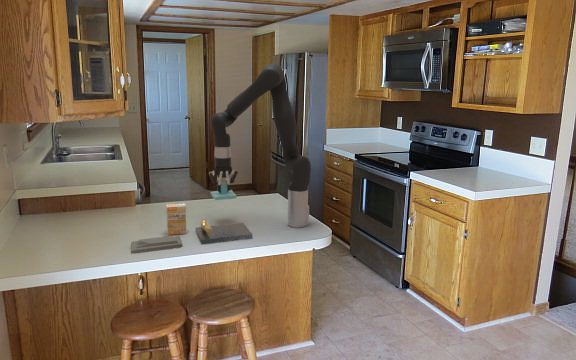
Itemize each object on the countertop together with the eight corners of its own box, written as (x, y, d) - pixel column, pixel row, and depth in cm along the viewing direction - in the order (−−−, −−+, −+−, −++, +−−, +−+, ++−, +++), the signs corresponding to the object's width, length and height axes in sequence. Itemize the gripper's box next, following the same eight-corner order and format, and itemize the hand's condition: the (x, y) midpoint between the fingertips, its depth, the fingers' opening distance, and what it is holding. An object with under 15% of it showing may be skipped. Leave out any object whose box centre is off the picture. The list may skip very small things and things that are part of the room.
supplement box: (167, 235, 205) (166, 207, 202) (167, 232, 209) (165, 203, 206) (186, 234, 207) (185, 205, 204) (186, 230, 212) (185, 202, 208)
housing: (243, 226, 217) (243, 222, 217) (252, 238, 203) (252, 234, 202) (195, 231, 210) (195, 227, 210) (201, 244, 195) (201, 239, 195)
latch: (200, 229, 206) (200, 220, 205) (205, 228, 207) (205, 219, 206) (207, 236, 197) (206, 227, 196) (212, 236, 198) (212, 226, 197)
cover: (231, 193, 226) (231, 179, 225) (236, 198, 217) (236, 184, 215) (211, 194, 223) (210, 181, 221) (215, 200, 214) (214, 186, 212)
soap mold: (130, 245, 194) (130, 238, 194) (179, 240, 201) (179, 232, 200) (131, 255, 185) (131, 247, 184) (183, 249, 192) (182, 241, 191)
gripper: (209, 158, 210) (210, 195, 214) (239, 156, 214) (240, 193, 218) (206, 155, 216) (207, 191, 221) (235, 153, 221) (236, 189, 225)
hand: (223, 192), depth 219 cm, fingers closed on cover, 3 cm apart
